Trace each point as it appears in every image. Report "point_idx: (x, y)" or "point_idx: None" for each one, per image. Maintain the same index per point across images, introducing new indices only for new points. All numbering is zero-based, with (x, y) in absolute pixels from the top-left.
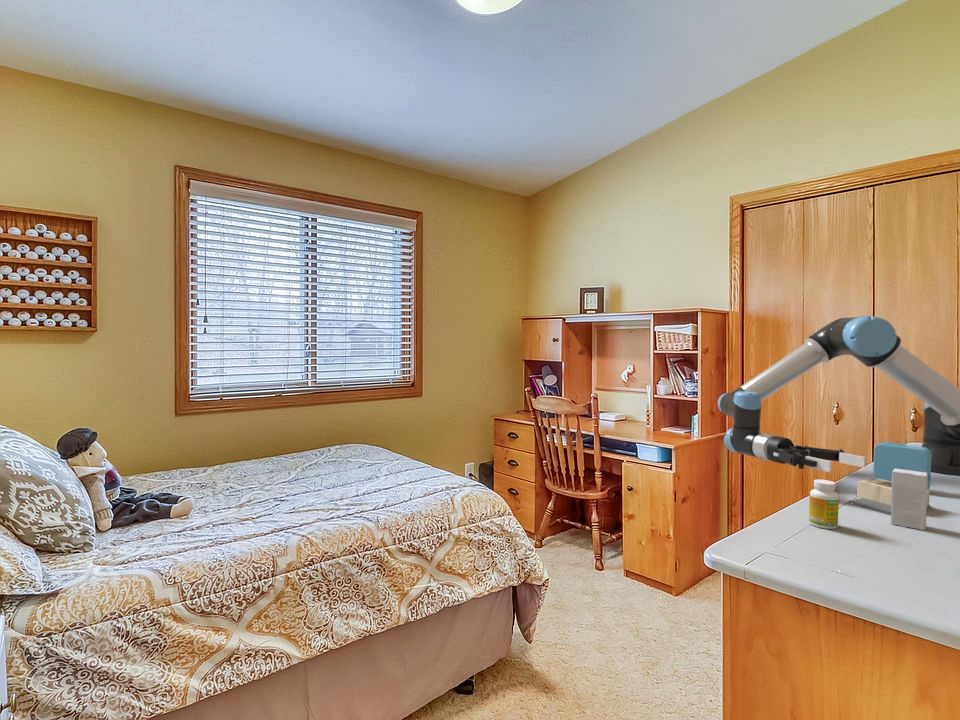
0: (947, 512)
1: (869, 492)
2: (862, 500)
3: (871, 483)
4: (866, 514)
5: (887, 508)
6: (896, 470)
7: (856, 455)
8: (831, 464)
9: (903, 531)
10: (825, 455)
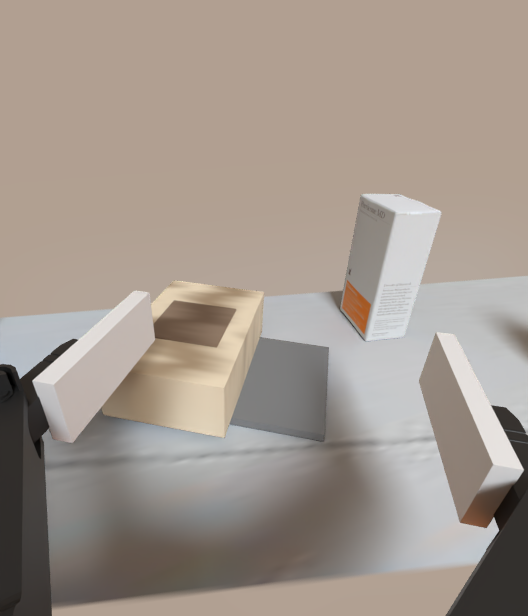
0: None
1: (237, 382)
2: (271, 410)
3: (221, 355)
4: (389, 379)
5: (297, 356)
6: (422, 209)
7: (111, 315)
8: (433, 347)
9: (422, 321)
10: (35, 506)
